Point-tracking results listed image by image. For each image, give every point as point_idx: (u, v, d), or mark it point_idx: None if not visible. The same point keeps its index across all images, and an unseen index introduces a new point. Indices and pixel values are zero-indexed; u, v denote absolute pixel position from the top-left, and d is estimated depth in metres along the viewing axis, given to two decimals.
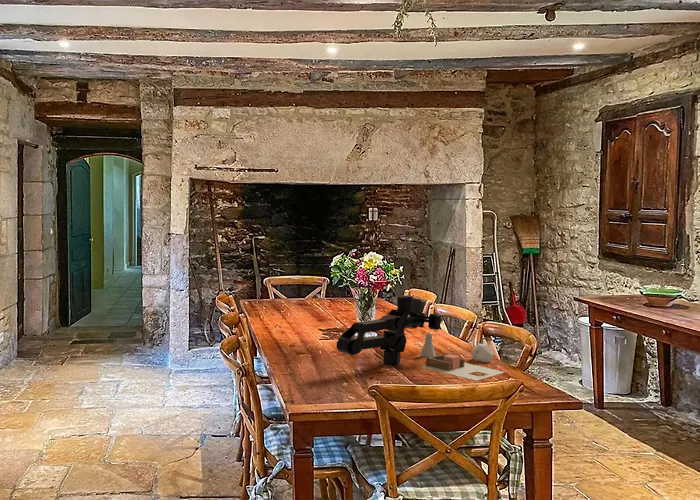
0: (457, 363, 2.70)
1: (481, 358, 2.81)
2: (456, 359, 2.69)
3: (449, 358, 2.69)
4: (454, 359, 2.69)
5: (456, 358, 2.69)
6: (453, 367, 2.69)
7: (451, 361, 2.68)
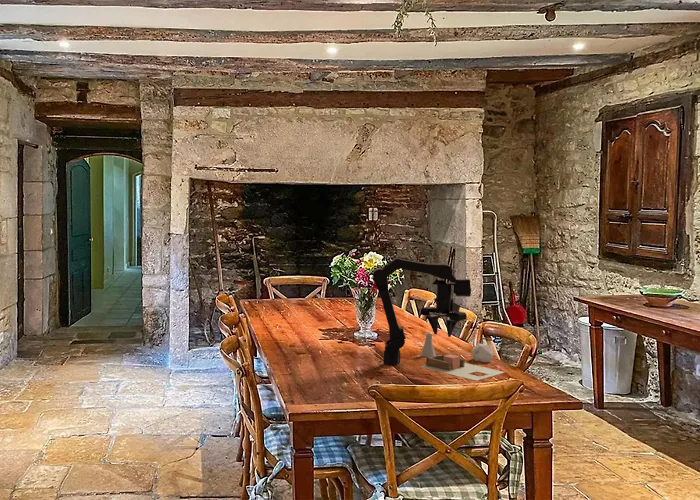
0: (457, 363, 2.70)
1: (481, 358, 2.81)
2: (456, 359, 2.69)
3: (449, 358, 2.69)
4: (454, 359, 2.69)
5: (456, 358, 2.69)
6: (453, 367, 2.69)
7: (451, 361, 2.68)
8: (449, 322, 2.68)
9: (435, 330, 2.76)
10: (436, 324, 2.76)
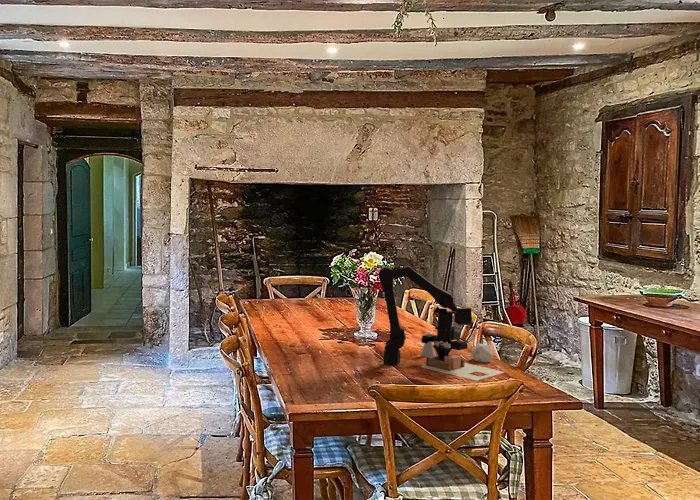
0: (458, 363, 2.70)
1: (481, 358, 2.81)
2: (457, 360, 2.69)
3: (450, 358, 2.69)
4: (455, 359, 2.68)
5: (457, 358, 2.69)
6: (454, 367, 2.68)
7: (452, 361, 2.68)
8: (443, 349, 2.70)
9: None
10: None
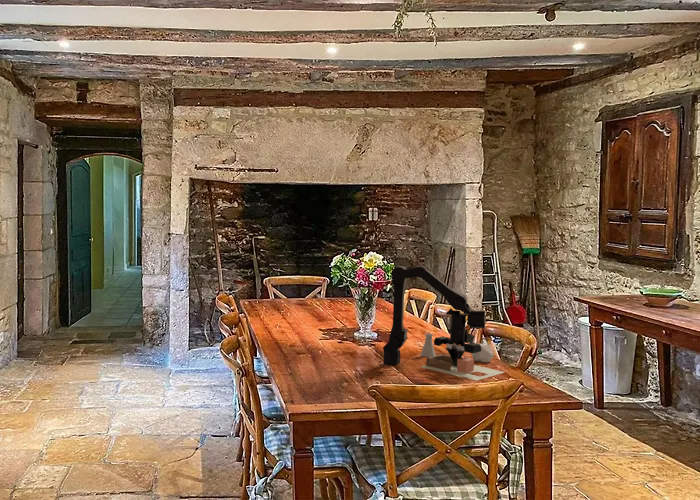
0: (471, 366, 2.65)
1: (481, 358, 2.81)
2: (470, 363, 2.65)
3: (463, 361, 2.64)
4: (468, 362, 2.64)
5: (470, 361, 2.65)
6: (467, 370, 2.64)
7: (465, 364, 2.64)
8: (456, 352, 2.66)
9: None
10: None
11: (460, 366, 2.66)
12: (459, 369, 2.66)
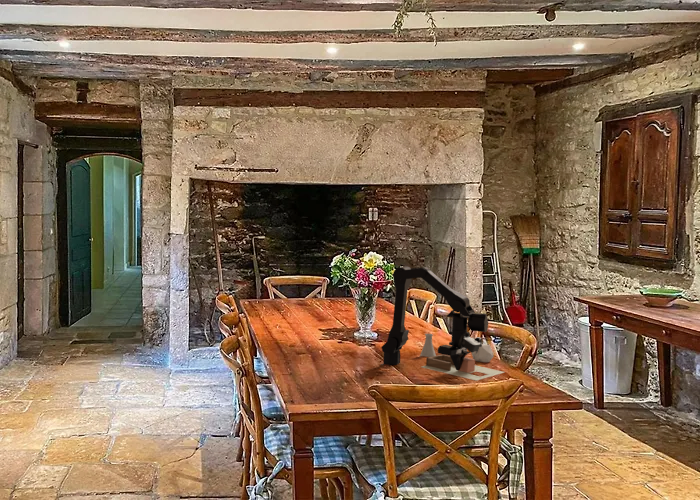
0: (472, 366, 2.66)
1: (481, 358, 2.81)
2: (471, 362, 2.65)
3: (464, 361, 2.65)
4: (469, 362, 2.64)
5: (471, 361, 2.65)
6: (468, 370, 2.64)
7: (466, 364, 2.64)
8: None
9: None
10: None
11: (461, 366, 2.66)
12: (460, 369, 2.66)
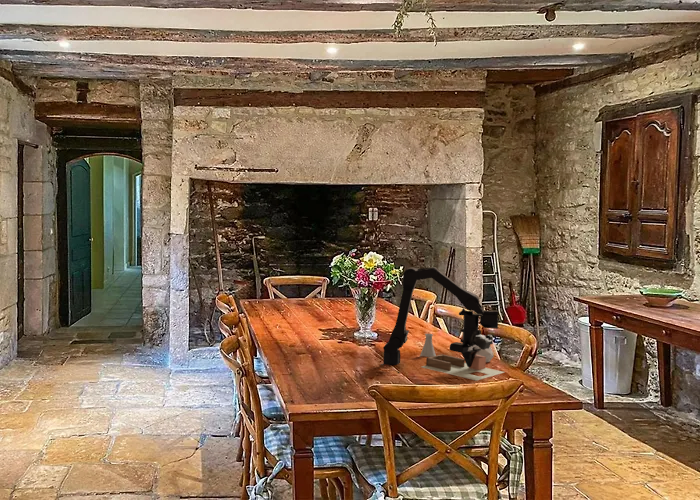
0: (483, 363, 2.71)
1: None
2: (482, 360, 2.70)
3: (475, 358, 2.70)
4: (480, 359, 2.69)
5: (482, 358, 2.70)
6: (479, 367, 2.69)
7: (477, 361, 2.69)
8: None
9: None
10: None
11: (472, 363, 2.71)
12: (471, 366, 2.71)
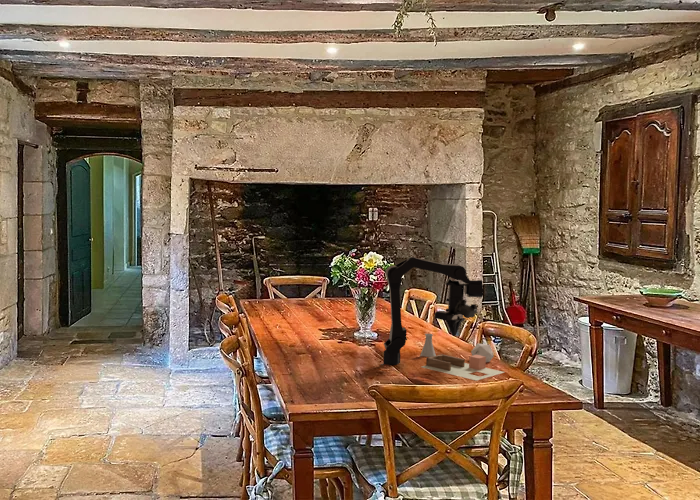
0: (483, 363, 2.71)
1: None
2: (482, 360, 2.70)
3: (475, 358, 2.70)
4: (480, 359, 2.69)
5: (482, 358, 2.70)
6: (479, 367, 2.69)
7: (477, 361, 2.69)
8: None
9: None
10: None
11: (472, 363, 2.71)
12: (471, 366, 2.71)
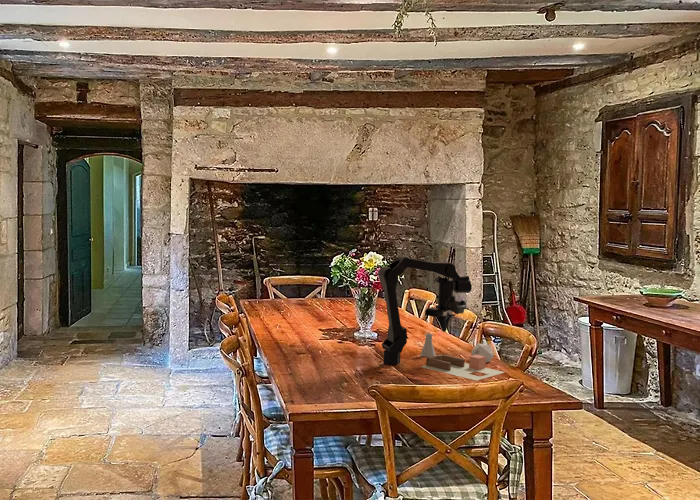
0: (483, 363, 2.71)
1: None
2: (482, 360, 2.70)
3: (475, 358, 2.70)
4: (480, 359, 2.69)
5: (482, 358, 2.70)
6: (479, 367, 2.69)
7: (477, 361, 2.69)
8: None
9: None
10: None
11: (472, 363, 2.71)
12: (471, 366, 2.71)
